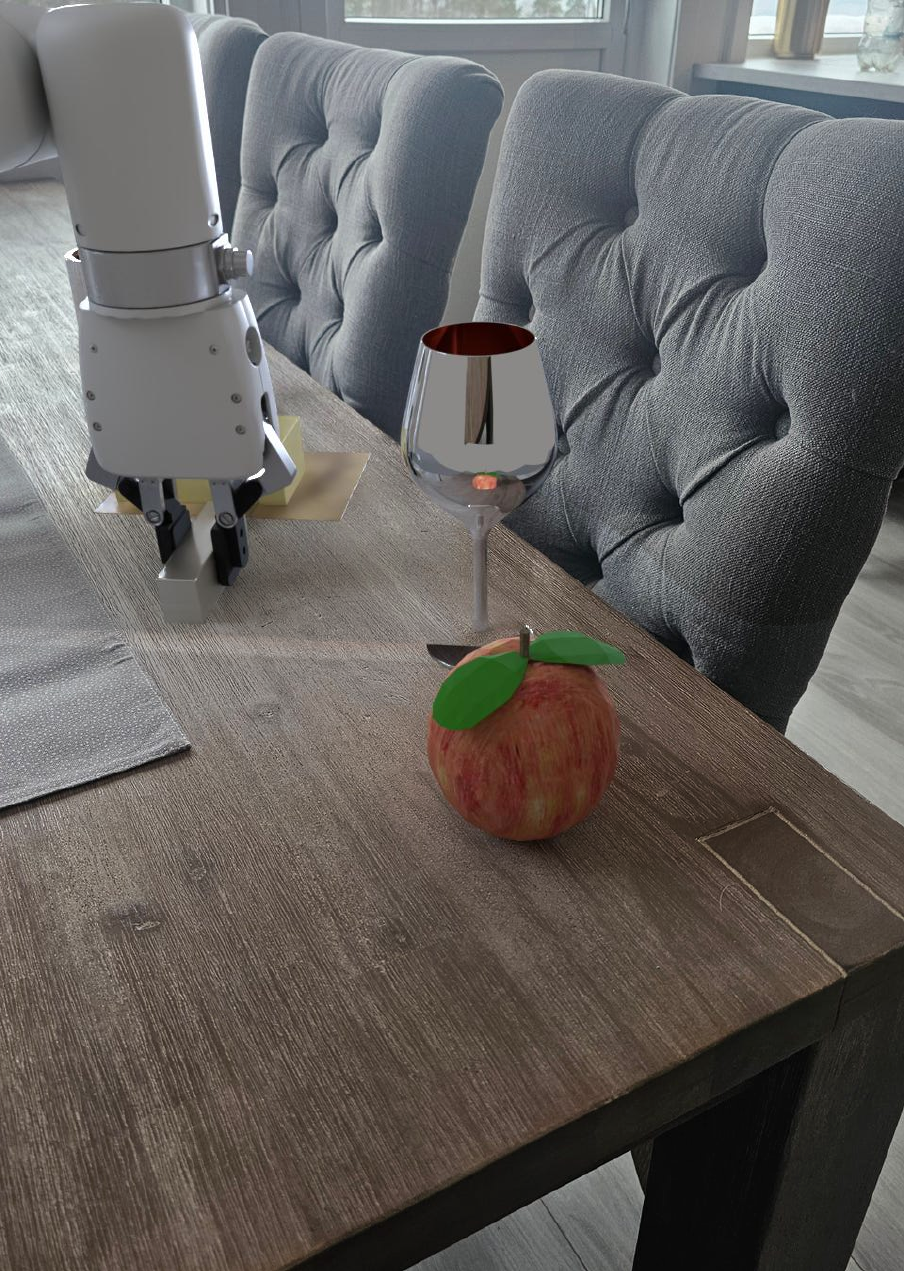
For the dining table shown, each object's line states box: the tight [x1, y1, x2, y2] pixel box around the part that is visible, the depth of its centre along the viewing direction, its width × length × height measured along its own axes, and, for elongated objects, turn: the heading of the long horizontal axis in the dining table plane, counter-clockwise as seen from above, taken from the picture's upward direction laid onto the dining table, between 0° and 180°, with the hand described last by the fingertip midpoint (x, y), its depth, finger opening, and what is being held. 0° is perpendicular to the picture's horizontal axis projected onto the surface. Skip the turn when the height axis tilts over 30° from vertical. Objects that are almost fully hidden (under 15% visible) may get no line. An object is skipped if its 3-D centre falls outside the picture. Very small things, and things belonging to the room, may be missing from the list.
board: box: [93, 450, 372, 522], centre depth 80 cm, size 18×12×1 cm, turn 83°
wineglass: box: [400, 320, 559, 670], centre depth 57 cm, size 8×8×18 cm
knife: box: [155, 479, 259, 625], centre depth 71 cm, size 22×2×3 cm, turn 173°
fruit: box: [426, 627, 627, 842], centre depth 47 cm, size 9×10×10 cm
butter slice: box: [259, 414, 306, 506], centre depth 77 cm, size 2×6×4 cm, turn 173°
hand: (207, 572), depth 66 cm, fingers closed on knife, 2 cm apart
